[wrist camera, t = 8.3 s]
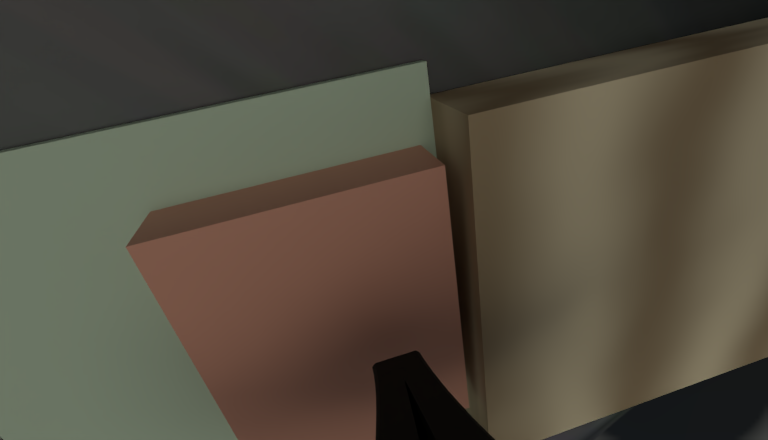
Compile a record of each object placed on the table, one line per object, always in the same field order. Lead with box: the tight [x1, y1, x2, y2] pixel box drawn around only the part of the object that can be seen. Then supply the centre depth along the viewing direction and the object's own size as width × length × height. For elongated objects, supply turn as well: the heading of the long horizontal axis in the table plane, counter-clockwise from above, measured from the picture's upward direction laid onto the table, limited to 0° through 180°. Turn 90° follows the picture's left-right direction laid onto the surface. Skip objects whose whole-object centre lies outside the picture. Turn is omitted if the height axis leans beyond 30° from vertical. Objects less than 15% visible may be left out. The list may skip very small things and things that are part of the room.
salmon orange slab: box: [126, 145, 469, 440], centre depth 13 cm, size 8×10×2 cm
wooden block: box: [430, 18, 768, 440], centre depth 15 cm, size 14×14×3 cm
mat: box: [0, 60, 437, 440], centre depth 14 cm, size 16×16×1 cm
